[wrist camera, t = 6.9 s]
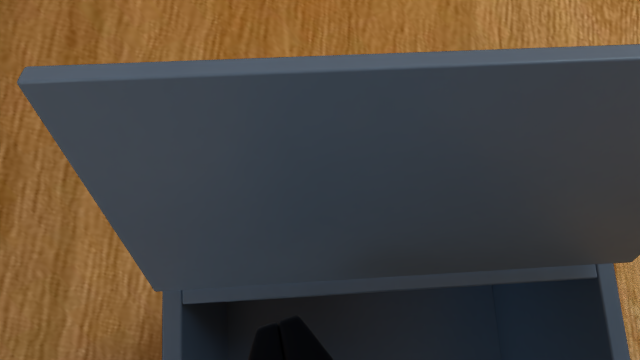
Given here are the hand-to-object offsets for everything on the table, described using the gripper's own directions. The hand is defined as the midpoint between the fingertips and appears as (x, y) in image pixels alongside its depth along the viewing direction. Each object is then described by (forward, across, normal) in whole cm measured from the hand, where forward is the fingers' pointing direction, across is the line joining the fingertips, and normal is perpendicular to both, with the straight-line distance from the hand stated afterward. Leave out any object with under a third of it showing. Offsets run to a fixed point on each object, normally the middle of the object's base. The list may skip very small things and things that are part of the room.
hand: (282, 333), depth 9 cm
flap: (+1, -3, -2) cm, 4 cm away
